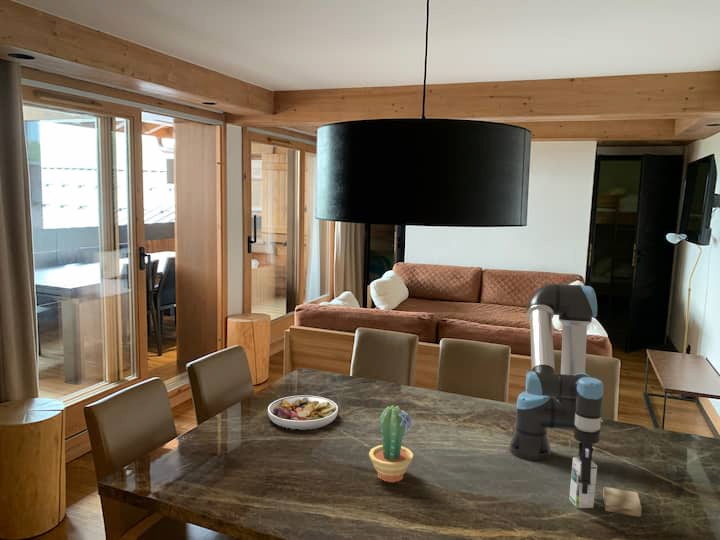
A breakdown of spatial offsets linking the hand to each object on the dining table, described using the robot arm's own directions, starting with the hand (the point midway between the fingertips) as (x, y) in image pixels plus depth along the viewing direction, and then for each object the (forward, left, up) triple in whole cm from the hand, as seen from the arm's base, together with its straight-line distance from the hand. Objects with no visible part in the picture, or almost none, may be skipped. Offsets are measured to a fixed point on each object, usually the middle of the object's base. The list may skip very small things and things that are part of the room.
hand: (582, 491), depth 183 cm
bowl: (-111, +32, -5) cm, 116 cm away
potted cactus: (-62, -4, -4) cm, 62 cm away
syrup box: (0, 0, -4) cm, 4 cm away
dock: (+12, +3, -4) cm, 13 cm away
